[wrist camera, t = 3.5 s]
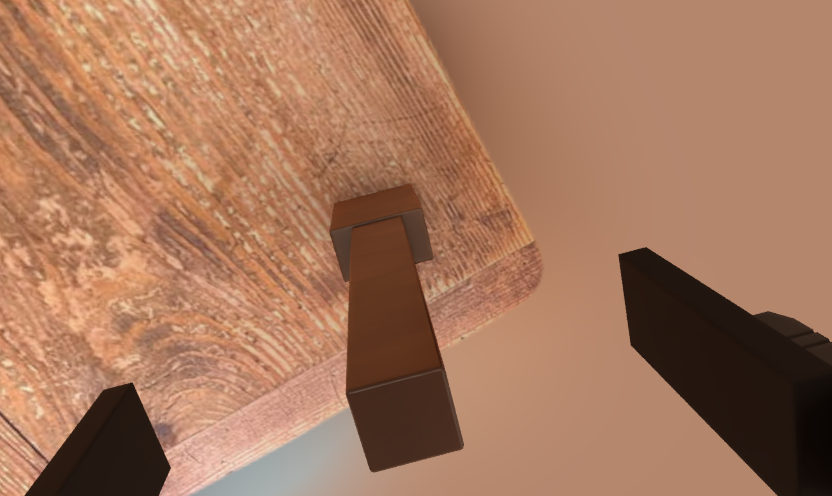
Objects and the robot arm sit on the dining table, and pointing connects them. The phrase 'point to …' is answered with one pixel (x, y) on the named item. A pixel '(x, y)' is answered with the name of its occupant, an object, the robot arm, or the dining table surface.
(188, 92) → the dining table surface
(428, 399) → the stirring stick
